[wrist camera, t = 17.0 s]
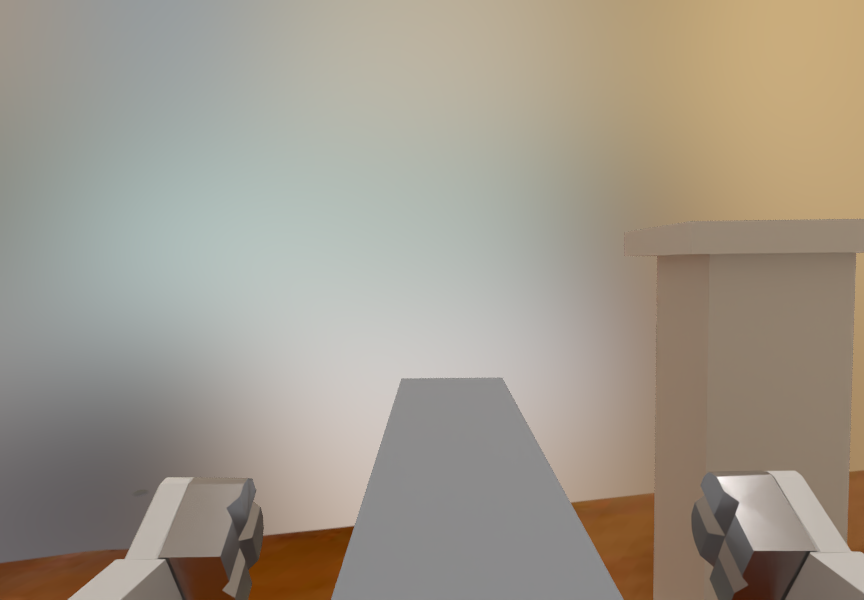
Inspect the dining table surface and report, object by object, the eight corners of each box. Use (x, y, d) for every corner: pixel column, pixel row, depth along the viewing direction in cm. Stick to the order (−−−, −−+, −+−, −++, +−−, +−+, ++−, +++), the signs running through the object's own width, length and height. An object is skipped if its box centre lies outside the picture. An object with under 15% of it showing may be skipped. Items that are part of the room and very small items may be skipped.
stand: (683, 763, 29) (691, 220, 28) (621, 635, 39) (624, 231, 38) (892, 762, 29) (912, 218, 28) (777, 635, 39) (786, 229, 38)
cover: (332, 717, 10) (329, 604, 10) (402, 418, 30) (401, 378, 30) (624, 716, 10) (625, 603, 10) (502, 417, 30) (502, 377, 30)
